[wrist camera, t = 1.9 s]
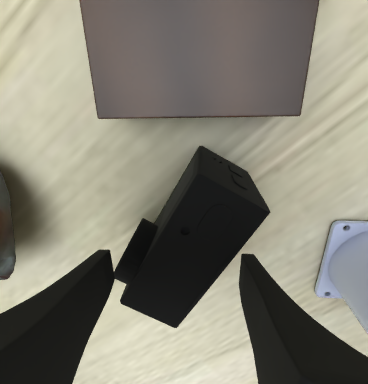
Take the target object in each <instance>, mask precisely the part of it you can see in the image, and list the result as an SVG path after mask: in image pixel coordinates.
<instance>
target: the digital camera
mask: <svg viewBox="0 0 368 384" xmlns="http://www.w3.org/2000/svg"><path fill="white" fill-rule="evenodd" d="M269 213H270V210H269V208H268V206H267V204H266V203H265V201H264V199H263V198H262V196H261V194H260V192H259V191H258V189H257V187H256V186H255V184H254V182H253V181H252V179H251V177H250V175H249V174H248V172H247V171H245V170H243V169H242V168H240V167H238V166H236V165H235V164H233V163H231V162H229V161H228V160H226V159H224V158H222V157H221V156H219V155H217V154H215V153H214V152H212V151H210V150H208V149H207V148H205V147H203V146H199V148H198V149H197V151H196V153H195V154H194V156H193V158H192V160H191V161H190V163H189V165H188V166H187V168H186V170H185V172H184V173H183V175H182V177H181V179H180V180H179V182H178V184H177V185H176V187H175V189H174V191H173V192H172V194H171V196H170V197H169V199H168V201H167V203H166V204H165V206H164V208H163V209H162V211H161V213H160V215H159V216H158V218H157V220H156V222H155V223H154V224H153V223H151V222H150V221H148V220H146V219H144V218H143V219H142V220H141V222H140V224H139V226H138V227H137V229H136V231H135V233H134V235H133V237H132V238H131V240H130V242H129V244H128V246H127V248H126V250H125V252H124V254H123V256H122V257H121V259H120V261H119V263H118V265H117V267H116V269H115V271H114V277H115V279H117V280H119V281H121V282H123V283H126V284H127V285H126V287H125V290H124V292H123V294H122V297H121V299H120V302H121V304H123V305H125V306H127V307H130V308H132V309H134V310H136V311H138V312H141V313H143V314H145V315H147V316H149V317H152V318H154V319H156V320H158V321H160V322H163V323H165V324H167V325H169V326H171V327H174V328H177V327H178V326H179V324H180V323H181V322H182V321H183V320H184V318H185V317H186V316H187V315H188V313H189V312H190V311H191V310H192V309H193V307H194V306H195V305H196V304H197V303H198V301H199V300H200V299H201V298H202V296H203V295H204V294H205V293H206V291H207V290H208V289H209V288H210V287H211V285H212V284H213V283H214V282H215V280H216V279H217V278H218V277H219V275H220V274H221V273H222V272H223V271H224V269H225V268H226V267H227V266H228V264H229V263H230V262H231V261H232V259H233V258H234V257H235V256H236V254H237V253H238V252H239V251H240V249H241V248H242V247H243V246H244V244H245V243H246V242H247V241H248V239H249V238H250V237H251V236H252V235H253V233H254V232H255V231H256V230H257V228H258V227H259V226H260V225H261V223H262V222H263V221H264V220H265V218H266V217H267V216H268V215H269Z"/></svg>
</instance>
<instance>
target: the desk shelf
mask: <svg viewBox="0 0 368 384" xmlns="http://www.w3.org/2000/svg"><path fill="white" fill-rule="evenodd" d="M79 1H80V7H81V13H82V20H83V26H84V33H85V39H86V46H87V52H88V58H89V65H90V71H91V78H92V84H93V91H94V97H95V103H96V110H97V116H98V119H130V118H201V117H272V116H300V114H301V109H302V103H303V97H304V91H305V85H306V78H307V72H308V66H309V60H310V54H311V48H312V42H313V36H314V30H315V24H316V18H317V12H318V6H319V0H79Z"/></svg>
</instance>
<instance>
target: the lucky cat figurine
mask: <svg viewBox="0 0 368 384" xmlns="http://www.w3.org/2000/svg"><path fill="white" fill-rule="evenodd" d="M10 206H11V201H10V195H9V192H8V189H7V186H6V184H5V181H4V178H3V175H2V173H1V171H0V280H5V279H8V278H9V277H10V275H11V274H12V273H13V271H14V266H15V262H16V255H15V239H14V232H13V223H12V216H11V210H10Z"/></svg>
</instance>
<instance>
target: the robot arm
mask: <svg viewBox="0 0 368 384" xmlns="http://www.w3.org/2000/svg"><path fill="white" fill-rule="evenodd" d="M344 226H347V227H346V228H343V227H344ZM114 280H115V277H114V271H113V265H112V260H111V254H110V250H98V251H97V252H95V253H94V254H93V255H91V256H90V257H89V258H87V259H86V260H85V261H83V262H82V263H81V264H80V265H78V266H77V267H76V268H74V269H73V270H72V271H70V272H69V273H68V274H66V275H65V276H63V277H62V278H61V279H59V280H58V281H56V282H55V283H53V284H52V285H50V286H49V287H47V288H46V289H44V290H43V291H41V292H39V293H38V294H36V295H34V296H33V297H31V298H29V299H28V300H26V301H24V302H22V303H20V304H18V305H16V306H15V307H13V308H11V309H9V310H7V311H5V312H3V313H1V314H0V384H72V383H73V380H74V377H75V374H76V371H77V368H78V365H79V363H80V360H81V357H82V355H83V352H84V349H85V347H86V344H87V342H88V340H89V337H90V335H91V333H92V331H93V329H94V327H95V325H96V323H97V321H98V319H99V317H100V314H101V312H102V310H103V308H104V306H105V304H106V302H107V300H108V298H109V295H110V292H111V289H112V286H113V283H114ZM239 289H240V296H241V303H242V307H243V311H244V316H245V320H246V324H247V328H248V332H249V336H250V340H251V344H252V348H253V353H254V358H255V365H256V371H257V377H258V384H368V357H367V356H365V355H363V354H362V353H360V352H358V351H357V350H355V349H354V348H352V347H351V346H349V345H348V344H347V343H345V342H344V341H342V340H341V339H339V338H338V337H336V336H335V335H334V334H332V333H331V332H330V331H328V330H327V329H326V328H324V327H323V326H322V325H321V324H319V323H318V322H317V321H316V320H314V319H313V318H312V317H311V316H309V315H308V314H307V313H306V312H305V311H304V310H303V309H302V308H300V307H299V306H298V305H297V304H296V303H295V302H294V301H293V300H292V299H291V298H290V297H289V296H288V295H287V294H286V293H285V292H284V291H283V290H282V289H281V287H280V286H279V285H278V284H277V283H276V282H275V281H274V279H273V278H272V277H271V276H270V275H269V273H268V272H267V271H266V270H265V268H264V267H263V266H262V265H261V263H260V262H259V261H258V259H257V258H256V257H255V255H254V254H242V255H241V266H240V277H239ZM326 292H327V293H326ZM315 294H316V295H317V296H318V297H325V298H343V299H344V300H345V302H346V303H347V305H348V306H349V308H350V309H351V311H352V312H353V314H354V315H355V316H356V318H357V319H358V321H359V322H360V324H361V325H362V327H363V328H364V330H365V331H366V332H367V334H368V221H335V222H334V223H333V224H332V225H331V229H330V233H329V237H328V241H327V245H326V248H325V252H324V256H323V260H322V264H321V268H320V272H319V276H318V279H317V283H316V287H315Z"/></svg>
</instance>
